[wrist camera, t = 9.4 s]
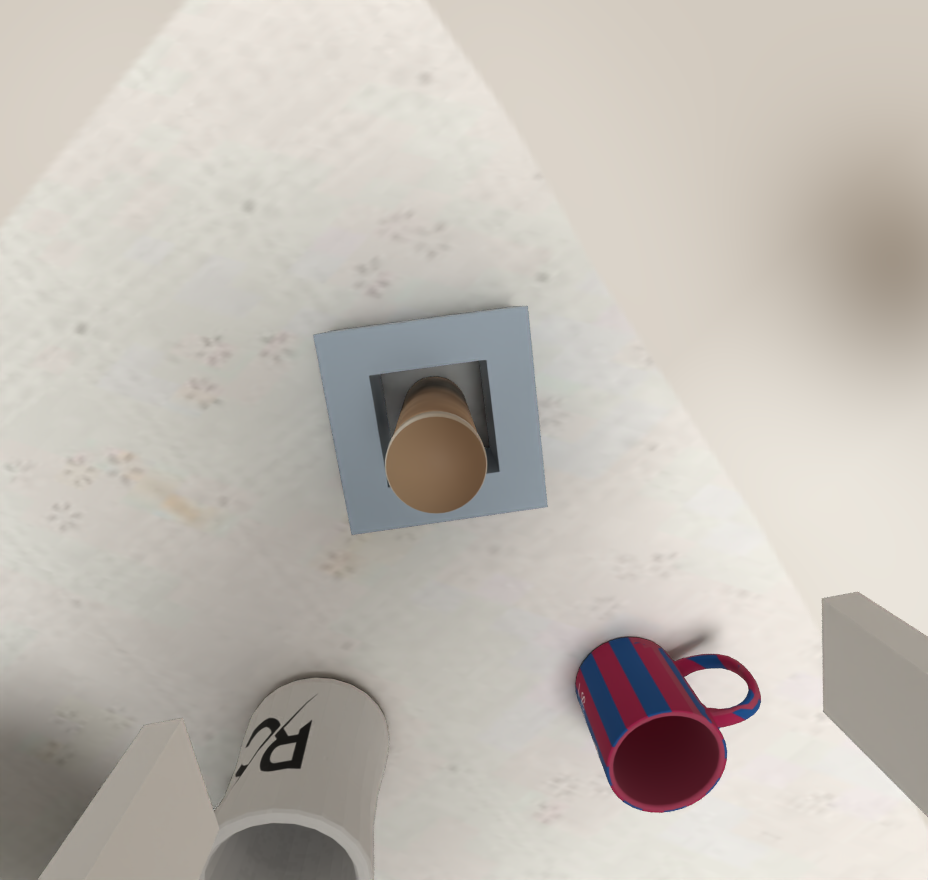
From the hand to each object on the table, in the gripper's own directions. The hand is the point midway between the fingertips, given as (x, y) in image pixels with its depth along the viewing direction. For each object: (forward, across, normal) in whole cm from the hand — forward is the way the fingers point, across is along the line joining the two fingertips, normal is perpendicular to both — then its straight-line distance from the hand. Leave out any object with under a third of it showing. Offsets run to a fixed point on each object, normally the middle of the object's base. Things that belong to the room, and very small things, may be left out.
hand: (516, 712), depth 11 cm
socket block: (+21, -1, +3) cm, 22 cm away
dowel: (+22, -1, +3) cm, 22 cm away
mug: (+22, -14, -18) cm, 31 cm away
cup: (+22, +10, -17) cm, 29 cm away
